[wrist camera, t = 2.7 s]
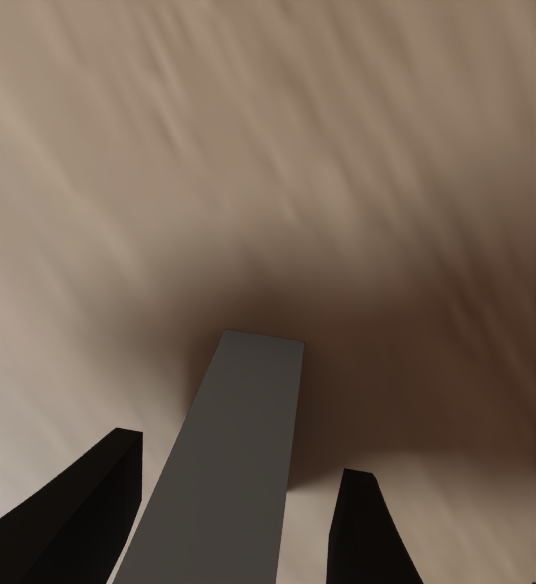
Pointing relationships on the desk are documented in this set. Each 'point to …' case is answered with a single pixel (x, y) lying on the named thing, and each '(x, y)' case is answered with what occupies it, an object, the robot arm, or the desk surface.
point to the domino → (224, 473)
